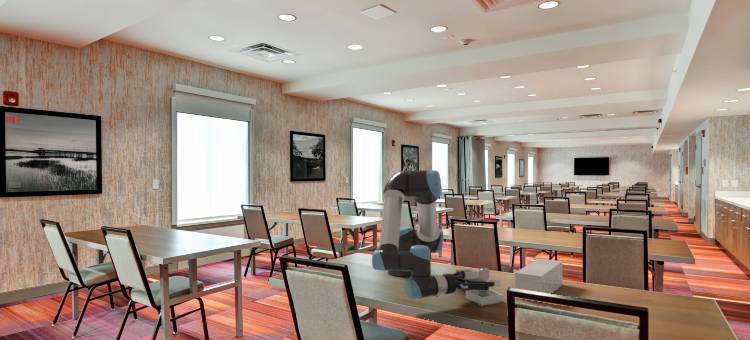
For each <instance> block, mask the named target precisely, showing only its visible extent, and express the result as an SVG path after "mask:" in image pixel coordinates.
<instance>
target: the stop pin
mask: <svg viewBox="0 0 750 340" xmlns="http://www.w3.org/2000/svg"><path fill="white" fill-rule="evenodd" d="M478 271H479V281H485V280H490V268H488V267H480V268H478ZM479 296H480V297H487V296H489V290H487V291H486V290H479Z"/></svg>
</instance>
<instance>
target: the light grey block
mask: <svg viewBox="0 0 750 340" xmlns="http://www.w3.org/2000/svg"><path fill="white" fill-rule="evenodd" d="M561 286H563V261H562V260H554V259H544V258H536V259H535V260H533V261H532V262H530V263H529V264H527V265H525V266H523V267H522V268H520V269H519V270H517V271H515V272H514V289H515V288H519V289H525V290H531V291H537V292H546V293H553V292H554V291H555V290H556V291H557V290H558V289H559V288H561ZM556 291H555V292H556ZM555 292H554V293H555ZM554 293H553V294H554Z"/></svg>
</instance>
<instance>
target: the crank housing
mask: <svg viewBox="0 0 750 340" xmlns="http://www.w3.org/2000/svg"><path fill="white" fill-rule="evenodd" d="M461 271H464V274H465V273H467V272H474V271H475V270H474V269H470V268H469V269H461V270H460V269H456V270H455V273H456V272H460V273H461ZM464 279H465V278H464ZM469 280H470V281H479V278H474V279H469ZM466 283H467V281H466ZM460 290H461V291H463V292H465V293H466V291H470V290H463V288H462V289H460Z"/></svg>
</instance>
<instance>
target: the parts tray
mask: <svg viewBox="0 0 750 340" xmlns="http://www.w3.org/2000/svg"><path fill="white" fill-rule="evenodd" d="M465 299H466V300H468V301H470V302H473V303H475V304H477V305H478V306H480V307H481V306H488V305H494V304H500V302H501V303H504V294H502V293H500V292H497V291H495V290H493V289H490V288H489V296H487V297H480V296H479V290H470V291H466V292H465Z"/></svg>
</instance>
